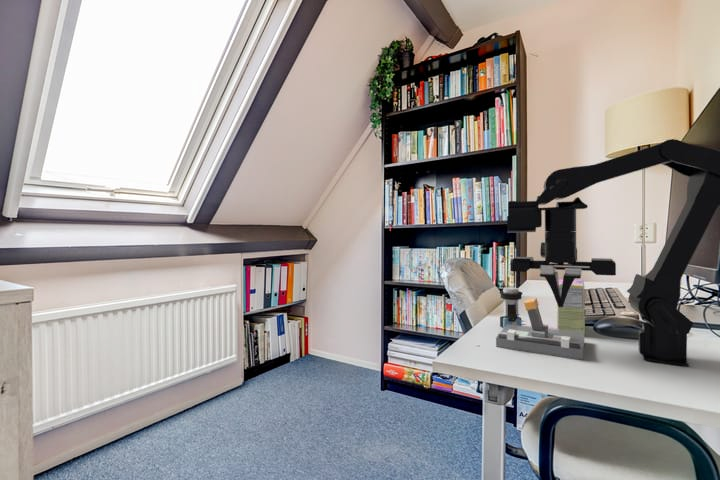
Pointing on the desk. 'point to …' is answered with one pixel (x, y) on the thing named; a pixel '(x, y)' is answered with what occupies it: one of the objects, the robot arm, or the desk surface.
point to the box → (572, 309)
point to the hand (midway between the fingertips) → (560, 306)
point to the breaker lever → (534, 314)
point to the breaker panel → (542, 341)
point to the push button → (510, 307)
